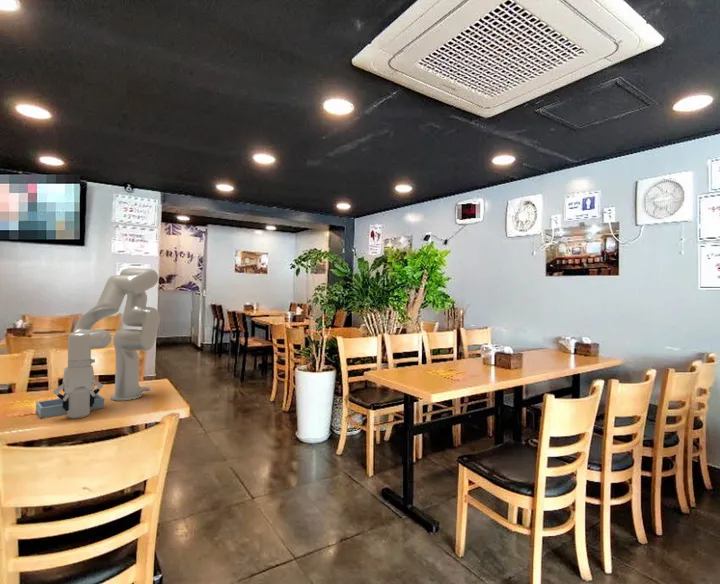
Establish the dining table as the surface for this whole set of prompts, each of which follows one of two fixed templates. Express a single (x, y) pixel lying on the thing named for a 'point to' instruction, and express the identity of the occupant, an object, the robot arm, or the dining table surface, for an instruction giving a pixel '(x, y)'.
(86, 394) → the can
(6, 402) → the dining table surface
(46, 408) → the tray
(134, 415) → the dining table surface
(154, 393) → the dining table surface
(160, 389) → the dining table surface
